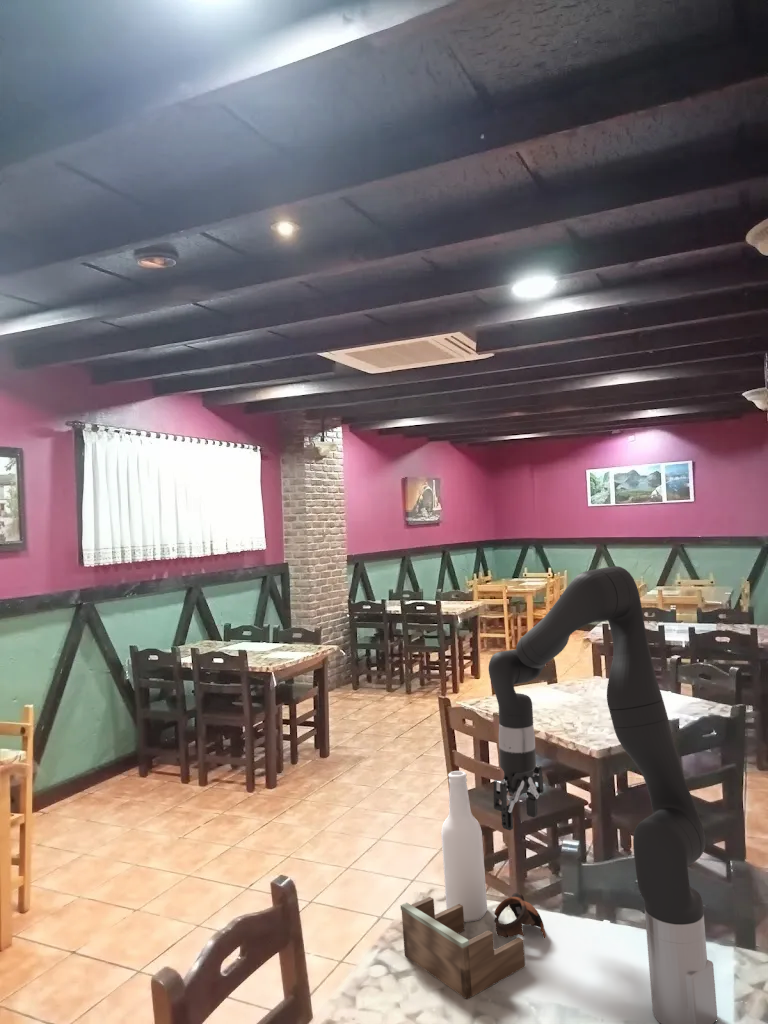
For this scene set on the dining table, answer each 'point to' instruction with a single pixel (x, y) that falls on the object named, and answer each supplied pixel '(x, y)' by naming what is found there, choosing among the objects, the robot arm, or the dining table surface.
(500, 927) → the pottery mug
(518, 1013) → the dining table surface
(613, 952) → the dining table surface
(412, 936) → the brown stepped open box
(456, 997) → the dining table surface
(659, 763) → the robot arm
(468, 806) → the alcohol
